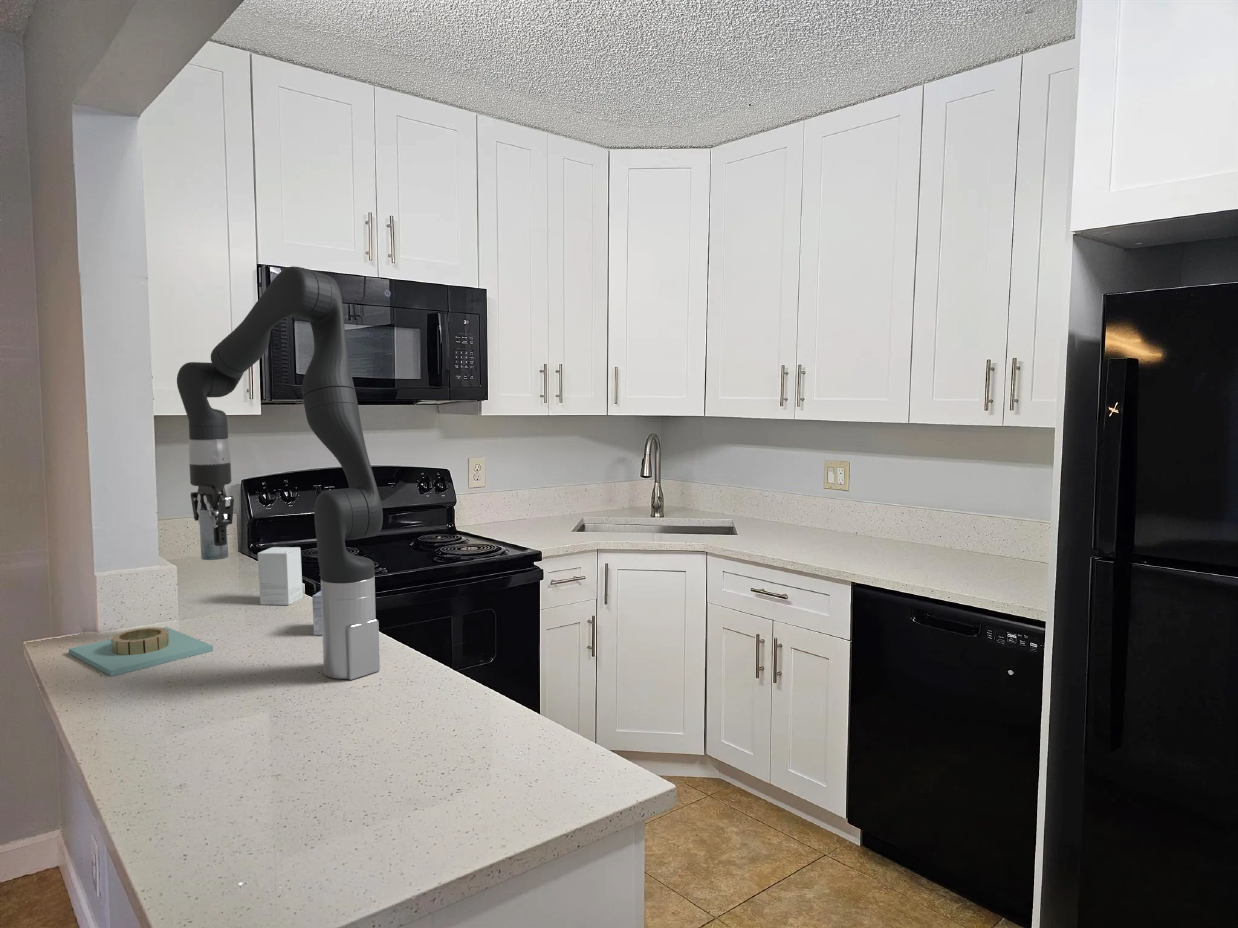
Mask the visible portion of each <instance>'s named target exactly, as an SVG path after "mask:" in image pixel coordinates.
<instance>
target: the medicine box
mask: <svg viewBox="0 0 1238 928" xmlns="http://www.w3.org/2000/svg"><path fill="white" fill-rule="evenodd" d="M311 599H312V620H313V621H312V622H313V635H314V636H322V605H321V590H318V592H316V593H315V594H313V595H312V598H311Z"/></svg>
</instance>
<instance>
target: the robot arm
mask: <svg viewBox="0 0 1238 928" xmlns="http://www.w3.org/2000/svg"><path fill="white" fill-rule="evenodd" d="M344 316H345V315H344V306H343V299H342V294H341V290H340V287H339V284H338V283H337V281H336V280H335V279H334V278H333V277H331V276H330V275H328V274H325V273H322V272H318V271H315V270H312V269H308V268H305V267H300V266H293V265H292V266H288V267H286V268H283V270H281V271H280V272H279V273H278V274H277V275H276V276H275V277H274V278H273V279H272V280H271V282H270V284H269V285H268V286H267V287H266V289H265V290H264V291H263V293H262V294H261V296H260V297H259V298H258V300H257V301H256V302H255V304H254V305H253V306H252V308H251V309H250V310H249V312H248V314H247V315H246V316H245V317H244V319H243V320H241V322H240V323H239V325H237V326H236V328H235V329H234V330H232V331H231V332H230V333H229V334H228V335H227V336H226V337H224V338H223V339H222V340H221V341H220V342H219V343H218V344H216V346H214V348H213V349H212V350H211V353H210V362H204V361H202V362H200V361H191V362H186V363H184V364H182V366H180V368H179V370H178V372H177V374H176V375H177V377H176V384H177V385H176V386H177V390H178V393H179V395H180V399H181V403H182V404H183V408H184V411H185V414H186V415H187V419H188V436H189V437H188V438H189V445H188V462H189V463H188V464H189V466H188V467H189V483H190V485H192V486H194V487H197V491H193V492H192V491H191V492H190V501H191V505H192V514H193V519H194V521H196V522H197V521H198V525H199V526H200V523H199V510H201V509H205V510H208V515H209V517H211V518H212V521H213V526H214V544H215V545H216V546H222V545H226V544H227V538H228V534H227V535H226V526H227V527H228V526H229V525H232V524H233V516H234V506H235V505H234V503H235V497H234V496H233V495H230V496H229V495H227V494H226V493H227V492H226V488H225V486H226V485H230V484H231V482H232V462H231V448H230V444H229V428H228V427H229V426H228V416H227V414H226V412H225V411H224V410H220V409H217V408H213V407H212V406H211V405H210V401H209V400H208V398H223V397H226V396H228V395H229V394H231V393H232V392H233V391H235V389H236V388H237V386H238V385H239V382H240V381H241V379H242V378H243V375H244V373H245V372H247V370H249V369H250V368H251V367H252V366H253V365H255V364H256V363H257V362H258V361H259V360H260V359H261V358H262V357H263V356H264V355H265V354H266V352H267V350H268V347H269V344H270V339H271V332H272V330H273V328H274V326H276V325H277V324H278V323H280V322H281V321H283V320H285V319H286V318H289V317H291V318H296V319H300V320H302V321H303V320H305V321H309V324H310V327H311V331H312V336H313V337H312V338H313V343H314V344H313V346H314V347H313V354H312V357H311V359H310V362H309V365H308V366H307V369H306V371H305V374H304V377H303V380H302V385H301V395H302V399H303V400H302V402H303V405H304V412H305V417H306V421H307V423H308V426H309V428H310V429H311V430H312V432H313V433H314V435H315V436H316V437H317V438H318V439H319V441H320V442H321V443H322V444H323V446H324V447H325V448H327V449H328V450H329V452H330V453H331V454H332V455H333V456H334V457H335V459H336V460H337V462H338V463H339V465H340V466H341V468H342V470H343V472H344V475H345V477H346V481H347V483H348V487H347V488H338V489H336V488H335V489H328V490H324V491H321V492H320V493H319V494H318V495H317V497H316V500H315V503H314V511H313V512H314V517H313V518H314V527H315V536H316V550H317V551H316V552H317V561H318V566H319V572H320V573H319V574H320V575H319V576H320V591H321V605H322V635H321V637H322V654H323V655H322V657H323V658H322V659H323V662H322V663H323V674H324V675H325V676H327V677H328V678H332V679H347V680H355V679H358V678H361V677H364V676H367V675H370V674H373V673H377V672H380V670H381V668H380V667H381V665H380V664H381V661H380V657H381V656H380V630H379V629H380V627H379V625H380V624H379V620H378V619H377V618H376V616H377V615H376V613H377V612H376V586H375V585H376V583H375V581H376V579H375V574H376V573H375V563H374V561H373V560H372V559H371V558H368V557H365V556H361V555H356V554H355V555H354V554H352V553H350V552H349V551H347V547H346V542H345V541H352V540H359V539H366V538H370V537H375V536H377V535H378V534H379V533H380V532H381V530H382V528H383V523H384V521H383V520H384V515H383V514H384V512H383V506H382V505H383V504H382V501H381V500H382V499H381V497H380V494H379V489H378V486H377V483H376V480H375V476H374V472H373V469H372V465H371V462H370V459H369V456H368V451H367V447H366V442H365V437H364V433H363V432H364V431H363V428H362V423H361V416H360V410H359V403H358V399H357V393H356V389H355V385H354V379H353V375H352V371H351V365H350V358H349V351H348V346H347V340H346V338H347V337H346V330H345V317H344ZM215 510H218V512H214V511H215ZM217 516H218V520H217Z"/></svg>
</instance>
